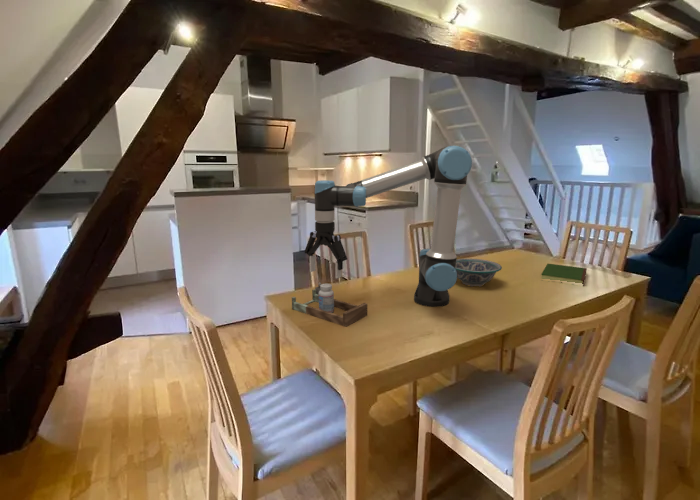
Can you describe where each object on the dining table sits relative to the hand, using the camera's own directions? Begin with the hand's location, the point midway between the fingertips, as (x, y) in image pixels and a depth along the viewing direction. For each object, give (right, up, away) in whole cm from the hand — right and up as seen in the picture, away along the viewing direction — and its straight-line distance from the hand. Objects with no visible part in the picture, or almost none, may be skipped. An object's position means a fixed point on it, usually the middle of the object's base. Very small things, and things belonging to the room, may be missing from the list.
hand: (325, 274), depth 157 cm
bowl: (+71, -7, +39) cm, 81 cm away
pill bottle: (0, -15, +4) cm, 16 cm away
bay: (+2, -15, +5) cm, 16 cm away
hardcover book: (+121, -5, +49) cm, 130 cm away
